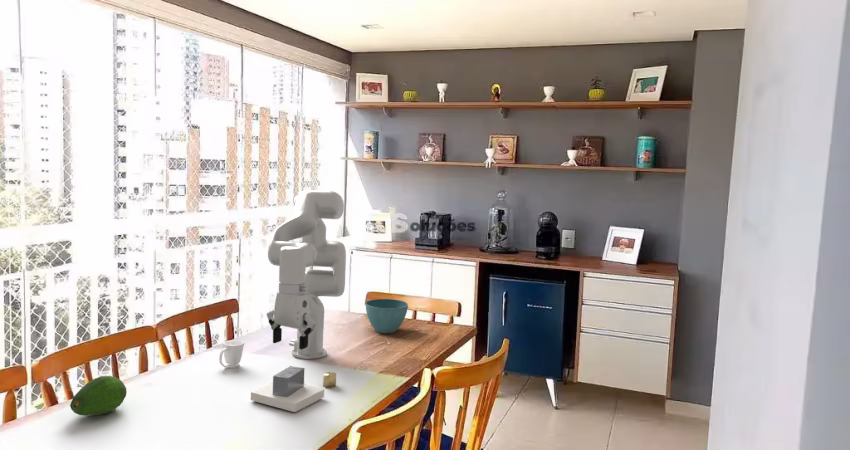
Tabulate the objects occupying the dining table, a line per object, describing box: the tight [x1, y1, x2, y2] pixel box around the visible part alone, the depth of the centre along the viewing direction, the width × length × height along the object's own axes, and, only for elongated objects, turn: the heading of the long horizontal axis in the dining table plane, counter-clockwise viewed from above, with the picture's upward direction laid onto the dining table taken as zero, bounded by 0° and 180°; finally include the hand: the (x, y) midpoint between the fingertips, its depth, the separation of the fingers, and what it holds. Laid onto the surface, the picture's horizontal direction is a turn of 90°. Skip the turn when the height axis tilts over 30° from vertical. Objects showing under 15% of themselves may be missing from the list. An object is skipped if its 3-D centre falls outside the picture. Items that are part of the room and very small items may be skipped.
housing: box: [272, 365, 305, 397], centre depth 183 cm, size 10×5×6 cm, turn 163°
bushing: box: [322, 371, 337, 389], centre depth 197 cm, size 4×4×4 cm
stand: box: [250, 382, 325, 413], centre depth 183 cm, size 16×14×3 cm
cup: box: [218, 339, 245, 369], centre depth 210 cm, size 7×10×8 cm
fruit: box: [69, 375, 127, 416], centre depth 166 cm, size 15×10×10 cm, turn 156°
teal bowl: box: [365, 298, 409, 334], centre depth 267 cm, size 18×18×12 cm
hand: (290, 345), depth 182 cm, fingers open, 9 cm apart
